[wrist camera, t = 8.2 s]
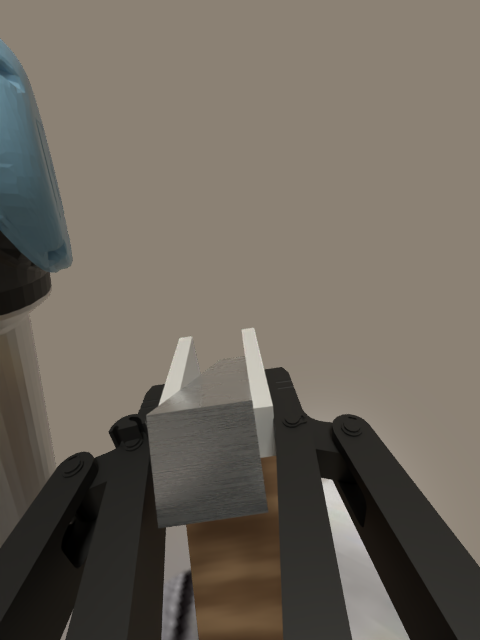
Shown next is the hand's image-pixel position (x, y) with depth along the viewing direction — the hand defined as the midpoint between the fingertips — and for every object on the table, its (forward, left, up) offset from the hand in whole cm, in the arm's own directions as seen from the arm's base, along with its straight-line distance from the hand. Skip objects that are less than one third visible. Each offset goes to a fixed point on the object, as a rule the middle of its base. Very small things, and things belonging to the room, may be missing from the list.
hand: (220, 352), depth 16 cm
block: (-2, +3, -4) cm, 5 cm away
